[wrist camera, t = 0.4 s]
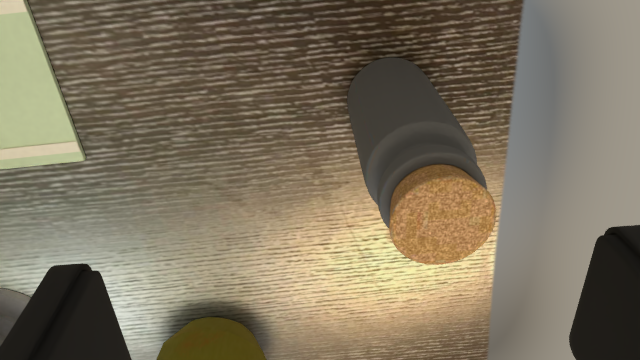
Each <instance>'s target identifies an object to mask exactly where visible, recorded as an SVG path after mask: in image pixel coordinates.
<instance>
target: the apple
mask: <svg viewBox="0 0 640 360" xmlns="http://www.w3.org/2000/svg"><path fill="white" fill-rule="evenodd" d="M157 360H266V358H265V356H264V353H263V351H262V350H261V348H260V346H259V344H258V342H257V341H256V339H255V337H254V335H253V334H252V333H251V332H250V331H249V330H248V329H247V328H246V327H245V326H244V325H242V324H241V323H238V322H235V321H232V320H229V319H226V318H217V317H205V318H201V319H196V320H192V321H191V322H190V323H188V324H187V325H186V326H184V327H183V328H182V329H180V330H179V331H178V332H177V333H175V334H174V335H173V336H172V337H171V338H169V339H168V340H167V341H166V342H164V344H163V346H162V348H161V350H160V353H159V355H158V357H157Z"/></svg>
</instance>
